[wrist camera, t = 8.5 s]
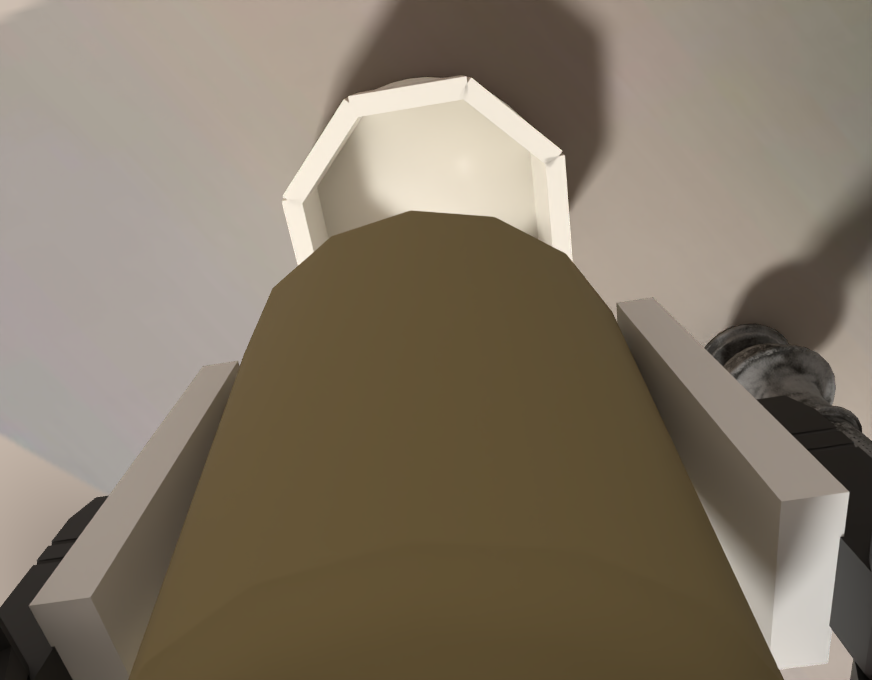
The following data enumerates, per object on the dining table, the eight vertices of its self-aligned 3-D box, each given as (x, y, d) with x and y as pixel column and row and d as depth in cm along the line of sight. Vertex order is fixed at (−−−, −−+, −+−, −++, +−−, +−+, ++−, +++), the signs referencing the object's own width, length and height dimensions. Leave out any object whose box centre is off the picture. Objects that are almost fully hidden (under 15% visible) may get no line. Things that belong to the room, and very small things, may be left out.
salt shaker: (685, 330, 34) (813, 458, 23) (797, 308, 33) (982, 427, 22) (691, 424, 36) (809, 581, 25) (796, 404, 36) (962, 555, 25)
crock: (398, 17, 28) (394, 8, 23) (603, 182, 31) (633, 201, 26) (260, 237, 31) (233, 265, 27) (454, 364, 34) (459, 408, 30)
